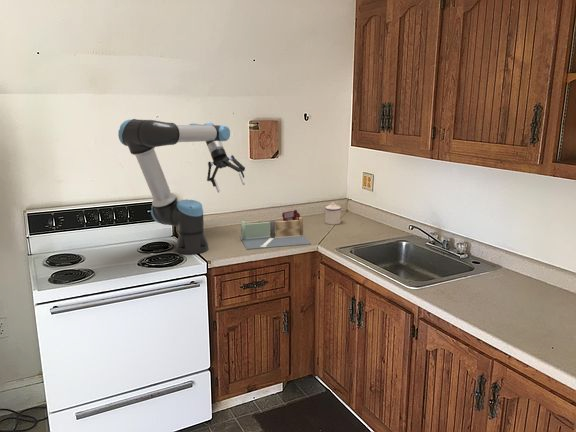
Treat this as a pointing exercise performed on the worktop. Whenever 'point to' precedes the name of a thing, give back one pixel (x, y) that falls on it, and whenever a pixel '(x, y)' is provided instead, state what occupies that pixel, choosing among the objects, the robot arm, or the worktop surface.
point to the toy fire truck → (290, 215)
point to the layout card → (273, 242)
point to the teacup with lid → (333, 214)
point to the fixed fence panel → (286, 228)
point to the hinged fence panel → (255, 229)
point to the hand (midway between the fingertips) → (231, 187)
